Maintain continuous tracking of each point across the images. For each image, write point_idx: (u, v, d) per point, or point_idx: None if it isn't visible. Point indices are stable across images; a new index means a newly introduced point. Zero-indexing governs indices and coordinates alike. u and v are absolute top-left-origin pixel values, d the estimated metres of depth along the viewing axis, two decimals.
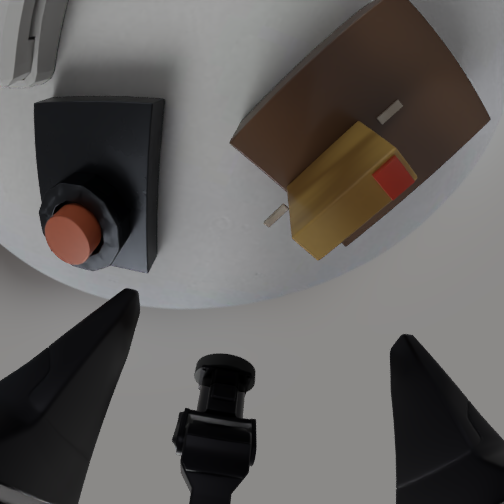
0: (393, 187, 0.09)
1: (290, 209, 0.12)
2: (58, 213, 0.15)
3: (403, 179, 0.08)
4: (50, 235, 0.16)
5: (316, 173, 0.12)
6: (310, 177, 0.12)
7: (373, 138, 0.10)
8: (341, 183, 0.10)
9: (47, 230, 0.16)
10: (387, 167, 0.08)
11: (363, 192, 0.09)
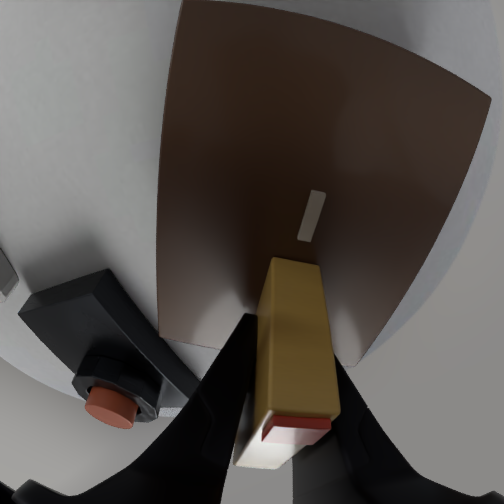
0: (300, 440, 0.05)
1: None
2: (88, 400, 0.16)
3: (307, 434, 0.05)
4: (94, 415, 0.17)
5: None
6: None
7: (267, 341, 0.06)
8: (248, 420, 0.06)
9: (89, 412, 0.17)
10: None
11: None
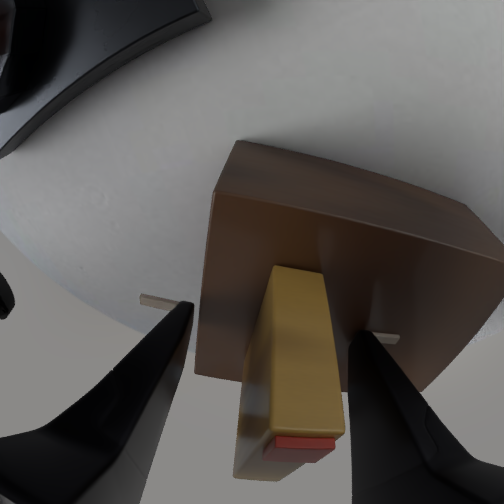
0: (302, 459, 0.05)
1: (238, 422, 0.08)
2: None
3: (310, 454, 0.04)
4: None
5: (249, 371, 0.08)
6: (247, 373, 0.09)
7: (269, 357, 0.06)
8: (248, 436, 0.06)
9: None
10: None
11: None
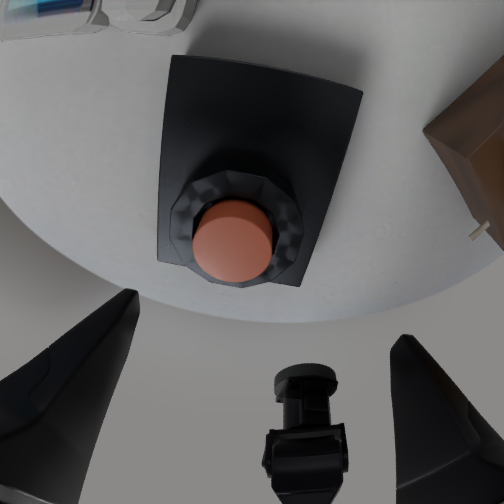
0: None
1: None
2: (226, 212, 0.13)
3: None
4: (204, 243, 0.13)
5: None
6: None
7: None
8: None
9: (200, 236, 0.13)
10: None
11: None
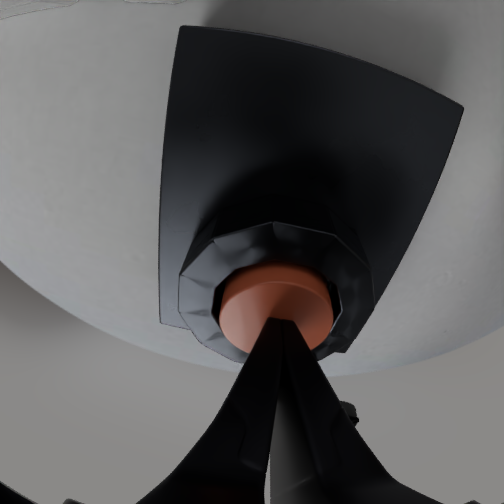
0: None
1: None
2: (273, 274, 0.09)
3: None
4: (237, 315, 0.09)
5: None
6: None
7: None
8: None
9: (231, 306, 0.09)
10: None
11: None
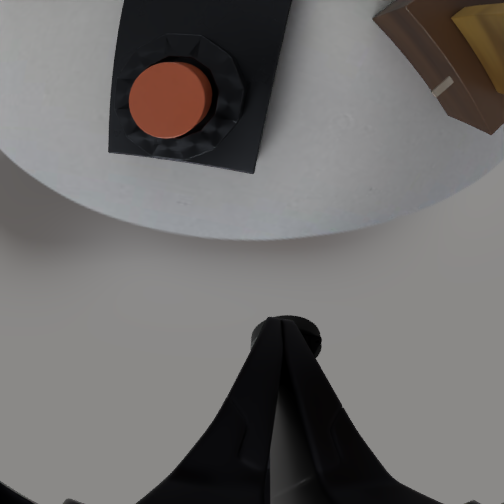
0: None
1: None
2: (161, 63, 0.11)
3: None
4: (139, 94, 0.11)
5: (499, 68, 0.08)
6: (501, 74, 0.08)
7: (486, 19, 0.06)
8: None
9: (136, 87, 0.11)
10: None
11: None
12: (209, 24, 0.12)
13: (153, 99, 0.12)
